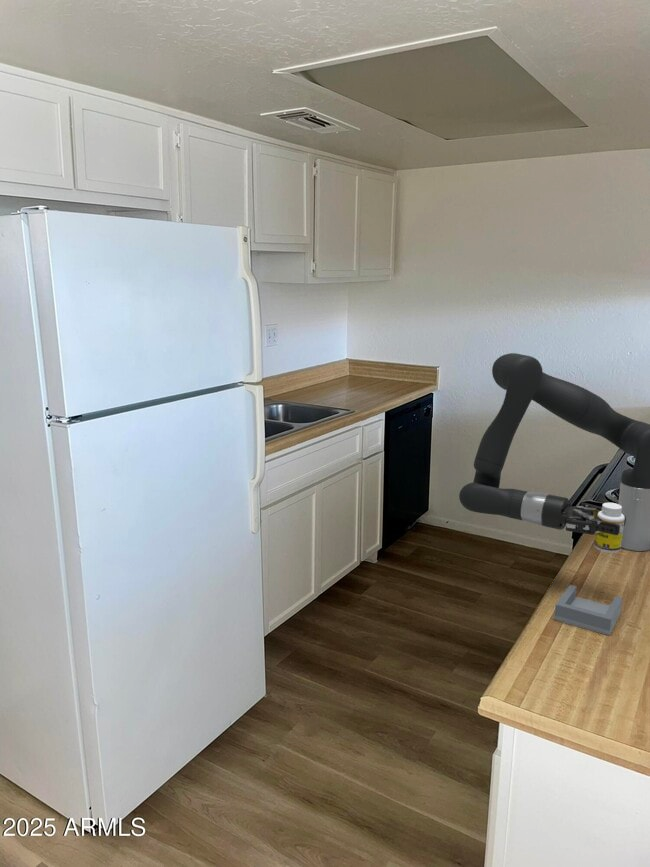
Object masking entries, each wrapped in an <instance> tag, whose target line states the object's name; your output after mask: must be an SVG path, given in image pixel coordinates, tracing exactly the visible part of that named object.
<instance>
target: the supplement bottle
mask: <svg viewBox="0 0 650 867" xmlns="http://www.w3.org/2000/svg"><path fill="white" fill-rule="evenodd" d="M601 507H602V511H600V512H598V515H597V520H599V521H601V522H602V521H603V522H608V523H613V524H618V525H620V532H619V534H618V535H613V534H609V533H604V532H599V533H596V532H595V534H594V542H593V544H594V547H595V549H597V550H598V551H600V552H603V553H608V554H609V553H611V554H615V553H619V551H621V549H622V547H621V544H622V536H623V528H624V520H625V517H624V515H623V514H621V512H622V506H621V505H619V504H618V503H616V502H615V503H614V502H604V503H602V506H601Z"/></svg>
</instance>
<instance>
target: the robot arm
mask: <svg viewBox="0 0 650 867" xmlns="http://www.w3.org/2000/svg"><path fill="white" fill-rule="evenodd" d="M491 374H492V378H493V380H494V382H495V383H496V385H497V386H499V388H501V389H502V390H504V391H505V396H504V400H503V402H502V405H501V407H500V410H499V411H498V413H497V414H496V416H495V418H494V419H493V421H491V423H490V424H489V426H488V427H487V429H486V430H485V432H484V434H483V435H482V437H481V439H480V442H479V444H478V445H479V446H478V448H477V451H476V454H475V458H474V460H473V468H474V470H475V474H474V478H473V481H472V482H468V483H467V484H465V485H464V486H463V487H462V488H461V489H460V491H459V494H458V495H459V496H458V498H459V503H460V504H461V505H462V506H463V508H465V510H468V511H470V512H473V513H479V514H484V515H496V516H501V517H506V518H509V519H513V520H517V521H522V522H526V523H529V524H532V525H536V526H541V527H546V528H550V529H555V530H559V531H563V529H565V530H566V531H567V532H572V533H579V534H584V535H585V534H586V535H592V536H593V535H594V536H595V532H596V533H599V532H604V533H609V534H613V535H618V534H619V532H620V525H618V524H613V523H608V522H603V521H602V522H601V521H599V520H597V515H598V512H600V511H602V506H599V505H594V504H590V503H586V502H581V505H577V506H573V505H571V504H570V499H569V498H567V497H564V496H560V495H559V496H558V495H555V494H549V493H544V492H537V491H527V490H522V489H517V488H516V489H515V488H501V487H500V484H501V475H502V470H503V468H504V465H505V462H506V460H507V456H508V453H509V451H510V448H511V445H512V443H513V439H514V437H515V435H516V432H517V430H518V428H519V426H520V424H521V422H522V420H523V417H524V416H525V414H526V412H527V410H528V408H529V406H530V404H531V402H532V401H533V402H535V403H536V404H538V405H539V406H541V407H542V408H544V409H546V410H547V411H548V412H550V413H552V414H553V415H554V416H557V417H558V418H560V419H562V420H563V421H565V422H566V423H569V424H570V425H573V426H575V427H577V428H578V429H581V430H583V431H586V432H588V433H590V434H593V435H598V436H600V437H602V438H604V439H606V440H607V441H608V442H610V443H611V444H613V445H614V446H616V448H619V449H620V450H621V451H622V452H624V453H625V454H627V455H629V456H632V457H634V464H633V468H628V469H624V470H623V471H622V472H621V476H620V477H621V478H620V486H619V496H618V503H617V504H619V505H621V506H622V512H621V514H623V515H624V517H625V520H624V528H623V536H622V544H621V549H622V548H623V549H625V550H628V551H629V550H630V551H634V552H646V551H649V550H650V423H647V422H644V421H639V420H636V419H633V418H632V417H631V418H630V417H628V416H626V415H623V414H621V413H619V412H617V411H616V410H614V408H612V407H611V406H610V403H608V402H607V401H606V400H605V399H603V398H602V397H601V396H600V395H597V394H596V393H594V392H592V391H590V390H588V389H587V388H584V387H583V386H580V385H578V384H575V383H573V382H569V381H567V380H564V379H561V378H558V377H554V376H552V375H550V374H547V373H545V372H544V371H543V367H542V364H541V362H540V361H539V360H538V359H537V358H536V357H533V356H530V355H525V354H521V353H515V352H512V353H506V354H503V355H500V356H498V358H496V359H495V361H494V363H493V364H492V369H491Z"/></svg>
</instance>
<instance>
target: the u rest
mask: <svg viewBox="0 0 650 867" xmlns="http://www.w3.org/2000/svg"><path fill="white" fill-rule="evenodd" d="M577 589H578V586H577V585H573V584H572V585H571V584H569V586H568V587H567V588H566V589H565V591H564V592H563V593H562V595H561V596H560V598H559V599H558V601H556V603H555V605H554V607H555V608H554V617H553V618H554V620H555V621H558V622H561V623H565V624H568V625H572V626H575V627H579V628H582V629H586V630H588V631H593V632H597V633H600V634H603V635H606V636H611V633H612V631H613V629H614V627H615V626H616V623H617V622H618V620H619V618H620V616H621V614H622V606H623V598H622V597H620V596H616V595H615V596H614V598H613V600H612V601H611V603H610V605H608V604H605V603H602V602H597V601H594V600H590V599H586V598H581V597H578V596H577Z"/></svg>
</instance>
